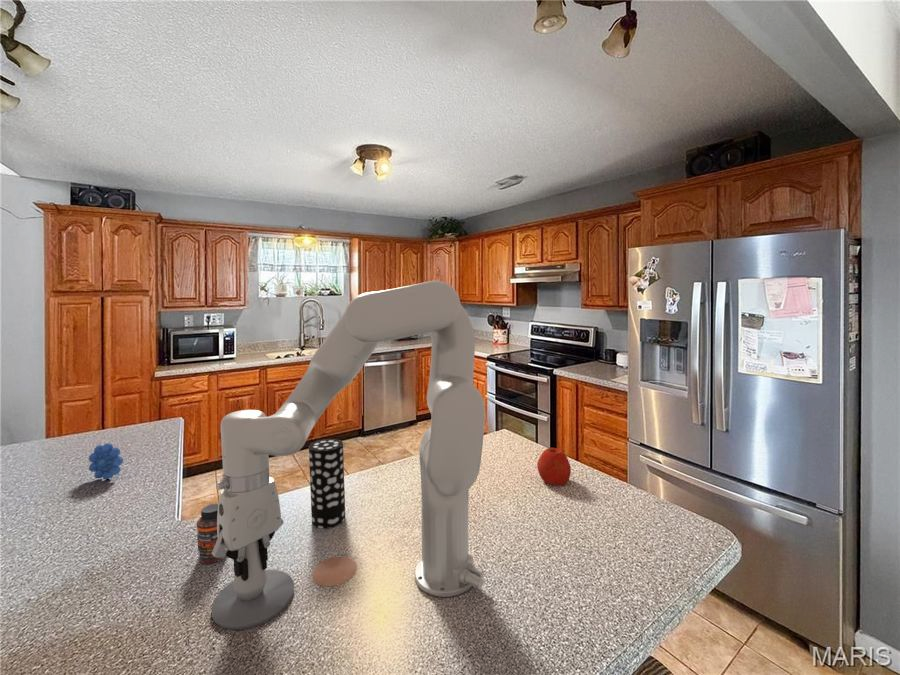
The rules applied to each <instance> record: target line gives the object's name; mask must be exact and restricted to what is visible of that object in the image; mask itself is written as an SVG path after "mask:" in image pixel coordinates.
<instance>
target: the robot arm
mask: <svg viewBox="0 0 900 675" xmlns="http://www.w3.org/2000/svg"><path fill="white" fill-rule="evenodd" d="M459 296H460V295H459V293H458V292H457V290H456V289H455V288H454V287H453V286H452V285H450V284H449V283H446V282H444V281H442V280H429V281H424V282H420V283H415V284H410V285H406V286H400V287H396V288H390V289H385V290H377V291H369V292H363V293H361V294H359V295H356V296H355V297H353V299H351V301H350V302H349V303H348V305H347V307H346V309H345V311H344V313H343V314H342V315H341V317H340V319H338V321H337V323H336V324H335V325H334V327H333V328H332V329H331V331H330V332H329V333H328V335H327V336H326V337H325V339H324V340H323V341H322V343H321V344H320V346H319V347H318V349H317V350H315V353H314V354H313V356H312V357H311V359H310V361H309V366H308V368H307V370H306V371H305V373H304V375H303V376H302V377H301V380H300V381H299V382H298V383H297V385H296V386H295V388H294V389H293V391H292V392H291V393H290V395H289V396H287V399H286V400H285V401H284V403H283V404H282V405H281V406H280V407H279V409H278V410H277V411H276V412H275V413H274V414H272V415H269V416H267V415H266V414H265V412H263V411H261V410H258V409H242V410H236V411H233V412H232V411H231V412H230V413H228V414H226V415H225V416H223V417H222V419H221V421H220V438H221V439H220V441H221V456H222V457H221V459H222V475H221V478H222V479H221V480H219V481H218V482H216V483H215V488H216V490H217V491H220V494H219V498H218V499H219V500H218V503H217V504H218V513H217V537H218V539H217V541H216V544H215V546H214V549H213V551H212V555H213V556H215V557H216V558H222V559H223V557H224V558H228V559H230V560H233V573H234V576H235V575H236V576H237V577H239V576H241V579H242V580H243V581H246V580H247V579H248V578H249V577H248V560H247V559H246V558H245V557H244V556H245V546H247V545H249V544H251V543H253V542H255V541H257V540H258V544H259V554H260V559H261V564H262V570H265V569H266V570H267V569H268V560H269V556H268V552H269V551H268V548H270V545H271V540H272V539H273V537H274V536H275V534H276V532H277V531H278V530H279V529H280V528H281V527H282V526H283V524H284V520H283V518H282V513H281V504H280V496H279V493H278V488H277V484H276V481H275V479H274V478H273V477H271V476H270V461H269V460H270V458H269V456H276V457H277V456H279V457H287V456H292V455H294V454H296V453H298V452H299V451H301V450H302V448H304V446H305V444H306V442H307V440H308V439H309V436H310V433H311V432H312V430H313V428H314V427H315V425H316V424H317V422H318V421H319V419H320V418H321V416H322V415H323V414H324V412H325V411H326V409H327V408H328V407H329V405H330V404H331V403H332V401H333V400H334V399H335V398H336V396H337V395H338V394H339V393H340V392H341V391H342V390H343V389H344V388H346V387H347V386H349V385H350V384H351V383H352V382H353V380H354V379H355V378H356V377H357V375H358V374H359V372H360V371H361V370H362V368H363V366H365V365H366V362H367V361H368V359H369V358H370V357H371V356H372V354H373V352H374V351H375V350H376V349H377V347H378V346H379V345H380V343H381V342H387V341H394V340H400V339H403V338H408V337H412V336H417V335H422V334H428V333H429V335H430V336H429V337H430V341H431V351H430V352H431V353H430V369H429V376H428V377H429V379H428V384H427V385H428V386H427V393H426V403H427V408H428V409H429V413H430V414H431V419H430V421H431V422H430V427H428V428H427V429H426V431H425V432H424V433H423V435H422V437H421V439H420V444H419V450H418V451H419V466H420V485H421V486H420V487H421V489H420V490H421V491H420V492H421V493H420V494H421V499H420V500H421V559H420V560H419V561H418V562H417V563H416V566H415V569H414V580H415V581H414V582H415V583H416V585H417V587H419V588H420V590H422V591H423V592H424V593H427V594H428V595H430V596H435V597H440V598H448V597H449V598H450V597H455V596H458V595H461V594H463V593H465V592H467V591H468V590H469V589H470V588H472V587H474V588H475V589H478V590H481V589H482V587H483V585H484V578H483V577H484V575H485V571H484V570H483V569H481V568H479V567H476V565H475V564H474V556H473V555H471V554H469V505H470V504H469V503H470V502H469V501H470V500H469V498H470V497H469V490H470V489H471V488H472V486H473V485H474V484H475V483H476V481H477V479H478V476H479V474H480V473H479V472H480V470H481V469H480V467H481V462H482V453H483V447H484V446H483V445H484V434H485V423H486V408H485V407H486V406H485V402H484V398H483V396H482V394H481V392H480V391H479V389H478V388H477V387H476V386H475V385H474V374H475V373H474V372H475V371H474V370H475V350H476V341H475V340H476V339H475V332H474V327H473V323H472V321H471V319H470V316H469V314H468V312H467V311H466V310H465V308H464V306H463V305H462V303H461V299H460V297H459ZM225 546H226V548H225Z"/></svg>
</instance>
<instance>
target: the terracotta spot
mask: <svg viewBox="0 0 900 675" xmlns="http://www.w3.org/2000/svg"><path fill="white" fill-rule="evenodd" d="M357 566H358V565H357V563H356V561H355V560H354V559H352V558H350V557H347V556H334V557H333V556H332V557H330V558H327V559H324V560H322V561H320V562H319V563H318V564H317V565H315V567H314V568H313V569H312V572H311V578H312V580H313V582H314V583H316V584H317V585H319V586H323V587H335V586H338V585H341V584H344V583H346V582H348V581H349V580H351V579H352V578H353V577H354V575H355V574H356V572H357V568H358V567H357Z"/></svg>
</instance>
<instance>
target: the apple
mask: <svg viewBox="0 0 900 675" xmlns="http://www.w3.org/2000/svg"><path fill="white" fill-rule="evenodd" d="M536 465H537V466H536V468H537V471H538V474H539V476H540V478H541V479H542V481H543V482H545V483H546V484H548V485H552V486H564V485H566V484H567V483H568V482H570V478H571V475H572V474H571V473H572V472H571V469H572V468H571V463H570V461H569V459H568V457H567V455H566V454H565V452H564V451H563V450H562V449H561V448H557V447H548V448H546V449H544V450H543V451H542V453H541V454H540V456H539V458H538V460H537V463H536Z"/></svg>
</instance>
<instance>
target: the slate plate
mask: <svg viewBox="0 0 900 675" xmlns="http://www.w3.org/2000/svg"><path fill="white" fill-rule="evenodd" d="M266 573H267V581H266V583H265V586H264V588H263V590H262V592H261V594H260V595H259V597H256V598H254V599H252V600H249V601H245V600H240V599H239V598H238V596H237V594H236V593H235V591H234V588H233V583H234V580H233V581H231V582H230V583H229V584H227V585H226V586H225V587H224V588H222V590H220V591H219V592H218V594H217V595H216V596H215V598H214V599H213V602H212V605H211V618H212V620H213V622H214V624H215V625H217V626H218V627H219V628H222V629H224V630H228V631H229V630H230V631H238V630H239V631H240V630H246V629H251V628H255V627H258V626H260V625H262V624H265V623H266V622H268V621H271V620H272V619H274V618H275V617H277V616H278V615H279V614H281V613H282V612H283V611H285V609H286V608H287V607H288V605H289V604H290V603H291V601H292V599H293V597H294V594H295V583H294V580H293V578H292V576H291V575H289V574H288V573H287V572H284V571H281V570H278V569H277V570H276V569H266Z"/></svg>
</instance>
